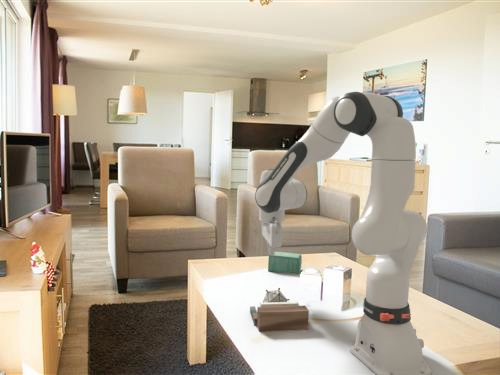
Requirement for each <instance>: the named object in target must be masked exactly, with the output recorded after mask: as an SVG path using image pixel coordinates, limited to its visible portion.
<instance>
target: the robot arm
mask: <svg viewBox="0 0 500 375" xmlns="http://www.w3.org/2000/svg"><path fill="white" fill-rule="evenodd" d="M414 129H415V128H414V126H413V123H412V122H411V121H410V120H408V119H407V118H405V117H404V112H403V107H402V105H401V104H400V101H398V100H397V99H396V98H394V97H391V96H389V95H382V94H378V93H375V92H369V91H368V92H366V91H363V92H362V91H361V92H360V91H351V92H346V93H344V94H343V95H341V96H334V97H332V98H330V99H329V100H328V101H327V103H326V104H325V105H324V106H323V107H322V108H321V110H320V111H319V112H318V114H317V115H316V116H315V118H314V120H313V122H312V123H311V125H310V126H309V128H308V129H307V130H306V132H304V134H303V135H302V137H300V138H299V139H298V141H296V142H295V143H294V144H293V145H292V146H290V148H289V149H288V150H287V151H286V153H285V154H284V155H283V156H282V158H281V159H280V161H279V162H278V163H277V165H276V166H275V167H274V168H269V169H265V170H263V171H262V172H261V174H260V179H259V185H258V186H257V188H256V190H255V193H254V195H255V196H254V198H255V200H254V201H255V204H257V206H258V213H259V214H258V220H259V221H260V227H261V234H262V237H263V238H264V239H265V241H266V244H267V253H268V255H269V254H270V255H274V254H275V252H276V248H282V246H283V231H282V222H284V221H285V218H286V216H285V213H286V211H287V210H292V209H299V208H301V207H303V206H304V205H305V203H306V201H307V198H308V190H307V187H306V185H305V183H303V181H301V180H298V179H295V178H294V177H295V175H296V174H297V173H298V172H299V171H301V169H303V168H305V167H307V166H309V165H312V164H315V163H319V162H323V161H326V160H328V159H331V158H332V157H333V156H334V155H335V154H337V152H339V150H340V149H341V147H342V146H343V144H344V143H345V142H346V140H347V138H348V137H349V135H350V134H351V133H352V134H354V135H357V136H360V137H364V136H367V137H369V138H370V141H371V144H372V145H371V146H372V147H371V148H372V150H371V152H372V153H371V170H370V173H371V174H370V186H369V191H368V196H367V199H366V202H365V206H364V208H363V211H362V212H361V215H360V217H359V219H357V220H356V222H355V223H354V224H353V226H352V230H351V240H352V243H353V245H354V247H355V248H356V249H357V251H359V253H361V254H363V255H366V256H375V259H374V261H373V262H372V264H371V265H370V266H369V268H368V270H367V273H366V285H365V286H366V288H365V290H366V291H365V297H364V298H363V304H362V306H363V310H362V311H363V313H364V314H362V317H361V318H360V319H359V321H358V322H357V327H356V328H357V329H356V337H355V344H354V345H352V346H351V347H350V353H351V354H353V355H354V356H355V357H356V358H357V359H359V360H360V362H362V363H363V364H364V365H365V366H366V367H367V368H369V369H370V370H371V371H372V372H373V373H374V374H376V375H432V369H431V368H430V366H429V364H428V363H427V361H426V360H425V358H424V357H423V348H424V346H425V344H424V343H425V341H424V340H423V339H422V338H418V335H417V330H416V328H414V327H413V325H412V322H411V319H412V317H411V315H412V314H411V313H412V312H411V309H410V308H411V307H410V304H409V295H410V294H409V293H410V281H411V275H412V269H413V267H414V263H415V260H416V257H417V254H418V251H419V249H420V247H421V244H422V242H423V241H424V240H425V238H426V236H427V234H428V223H427V220H426V219H425V218H424V216H423V215H422V214H420V213H419V212H417V211H415V210H410V209H406V206H407V203H408V200H409V198H410V197H411V195H412V194H413V192H414V190H415V183H416V156H417V155H416V153H417V152H416V150H417V149H416V148H417V147H416V137H415V132H414V131H415V130H414Z"/></svg>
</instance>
